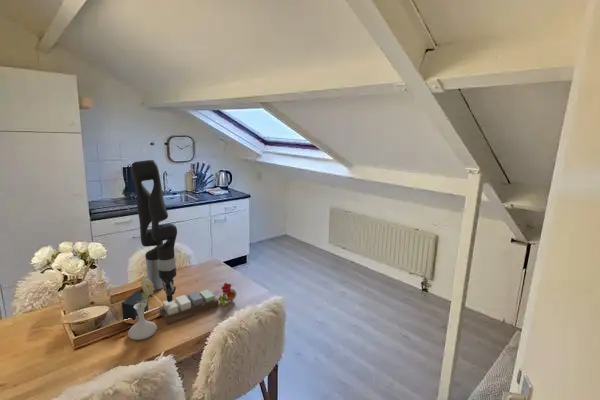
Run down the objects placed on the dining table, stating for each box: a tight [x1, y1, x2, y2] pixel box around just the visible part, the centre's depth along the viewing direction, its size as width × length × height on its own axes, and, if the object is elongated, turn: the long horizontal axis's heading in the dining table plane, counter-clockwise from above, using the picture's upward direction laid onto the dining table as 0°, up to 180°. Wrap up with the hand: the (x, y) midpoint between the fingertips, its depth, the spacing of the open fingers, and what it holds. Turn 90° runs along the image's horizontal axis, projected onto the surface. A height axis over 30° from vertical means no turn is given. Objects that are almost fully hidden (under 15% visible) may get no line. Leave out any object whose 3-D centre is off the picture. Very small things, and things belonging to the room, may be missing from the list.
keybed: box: [159, 296, 220, 326], centre depth 163 cm, size 11×25×4 cm, turn 129°
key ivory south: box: [162, 299, 178, 316], centre depth 157 cm, size 8×4×4 cm, turn 39°
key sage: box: [199, 289, 216, 303], centre depth 168 cm, size 8×4×4 cm, turn 39°
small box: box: [121, 291, 150, 321], centre depth 156 cm, size 11×6×10 cm, turn 168°
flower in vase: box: [127, 277, 158, 341], centre depth 143 cm, size 13×11×25 cm
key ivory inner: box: [175, 294, 191, 311], centre depth 161 cm, size 8×4×4 cm, turn 39°
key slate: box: [187, 291, 203, 307], centre depth 164 cm, size 8×4×4 cm, turn 39°
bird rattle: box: [217, 282, 237, 307], centre depth 170 cm, size 6×11×9 cm
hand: (169, 301), depth 156 cm, fingers closed
